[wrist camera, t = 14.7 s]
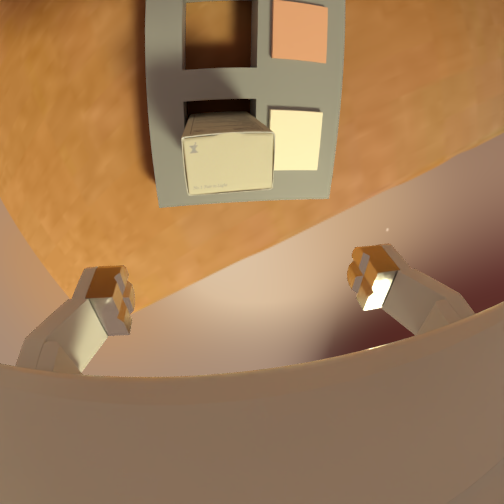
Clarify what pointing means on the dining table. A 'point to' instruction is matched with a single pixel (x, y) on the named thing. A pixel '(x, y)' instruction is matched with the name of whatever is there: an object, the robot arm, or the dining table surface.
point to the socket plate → (252, 94)
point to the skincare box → (227, 153)
